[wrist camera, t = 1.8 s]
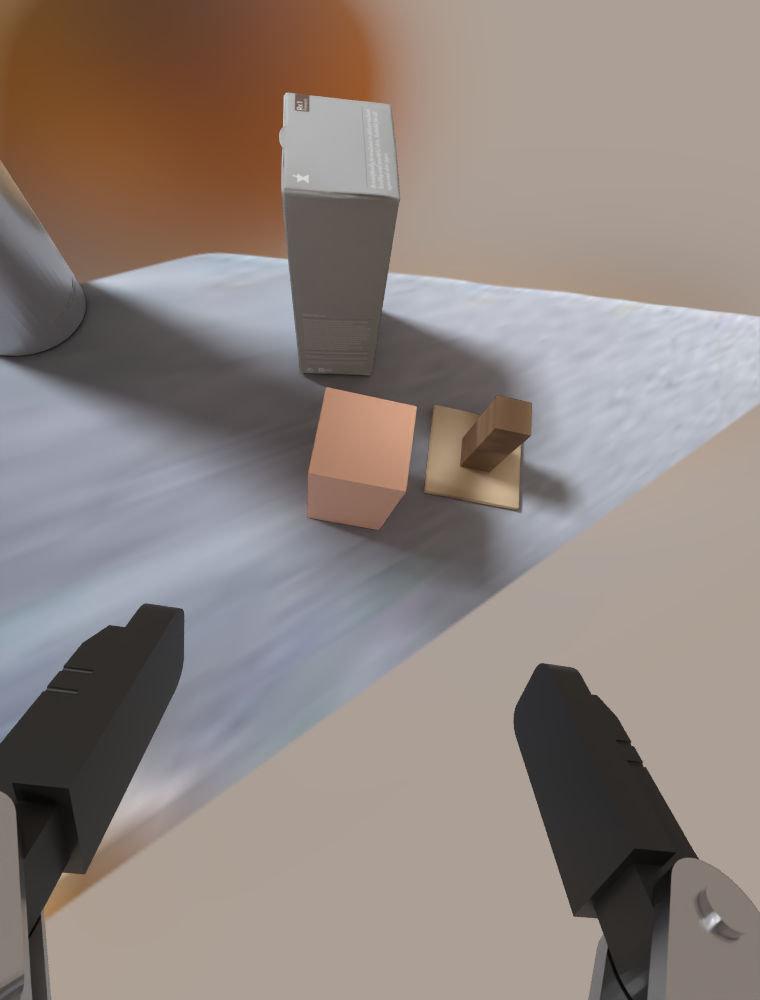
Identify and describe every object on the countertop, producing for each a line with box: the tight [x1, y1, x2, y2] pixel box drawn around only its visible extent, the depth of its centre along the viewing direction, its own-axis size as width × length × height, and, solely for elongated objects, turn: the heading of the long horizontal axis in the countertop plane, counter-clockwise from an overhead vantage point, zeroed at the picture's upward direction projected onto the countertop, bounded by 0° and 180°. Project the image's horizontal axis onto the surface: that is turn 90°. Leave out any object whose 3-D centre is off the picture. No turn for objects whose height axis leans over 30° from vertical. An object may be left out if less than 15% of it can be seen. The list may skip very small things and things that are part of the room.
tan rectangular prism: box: [307, 387, 417, 530], centre depth 29 cm, size 6×6×10 cm
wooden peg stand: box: [424, 395, 532, 510], centre depth 33 cm, size 8×8×8 cm
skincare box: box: [279, 93, 400, 376], centre depth 30 cm, size 8×7×16 cm
